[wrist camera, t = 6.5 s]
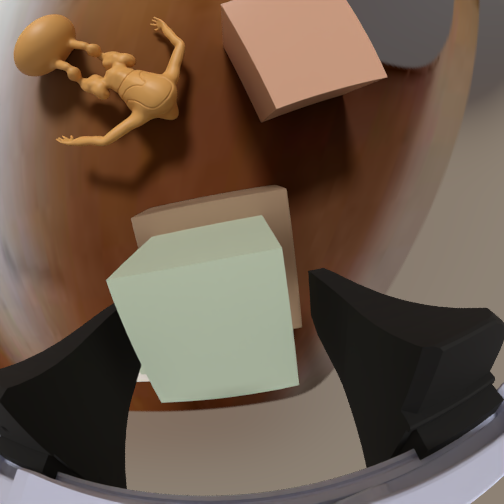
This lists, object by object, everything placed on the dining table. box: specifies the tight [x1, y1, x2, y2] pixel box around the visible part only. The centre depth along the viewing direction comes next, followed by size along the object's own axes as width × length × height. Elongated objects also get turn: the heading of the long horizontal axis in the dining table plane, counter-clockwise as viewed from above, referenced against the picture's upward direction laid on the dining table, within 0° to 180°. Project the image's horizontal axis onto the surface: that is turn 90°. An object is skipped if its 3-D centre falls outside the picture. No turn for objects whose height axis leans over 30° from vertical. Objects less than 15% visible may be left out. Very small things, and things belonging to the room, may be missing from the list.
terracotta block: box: [221, 0, 387, 123], centre depth 10 cm, size 5×5×5 cm
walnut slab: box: [131, 185, 302, 329], centre depth 14 cm, size 7×7×3 cm
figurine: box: [14, 14, 185, 146], centre depth 10 cm, size 8×6×12 cm
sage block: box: [106, 215, 299, 402], centre depth 10 cm, size 5×5×5 cm
